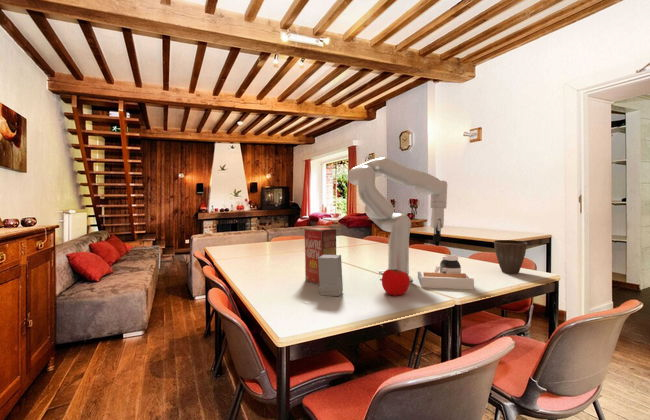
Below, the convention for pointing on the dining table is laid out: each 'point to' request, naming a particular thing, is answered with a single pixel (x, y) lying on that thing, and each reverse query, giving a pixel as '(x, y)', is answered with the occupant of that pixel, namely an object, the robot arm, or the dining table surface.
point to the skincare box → (330, 275)
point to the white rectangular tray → (446, 282)
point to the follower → (444, 275)
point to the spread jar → (449, 264)
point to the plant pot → (510, 255)
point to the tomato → (395, 282)
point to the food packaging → (317, 249)
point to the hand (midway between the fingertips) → (436, 241)
